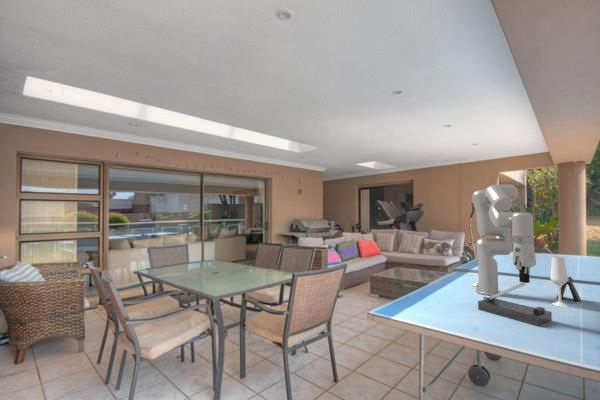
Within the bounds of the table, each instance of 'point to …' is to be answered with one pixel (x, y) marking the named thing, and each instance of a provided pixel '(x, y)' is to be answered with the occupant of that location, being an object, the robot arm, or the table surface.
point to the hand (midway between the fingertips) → (524, 282)
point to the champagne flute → (559, 276)
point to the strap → (506, 291)
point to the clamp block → (516, 311)
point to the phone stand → (572, 289)
